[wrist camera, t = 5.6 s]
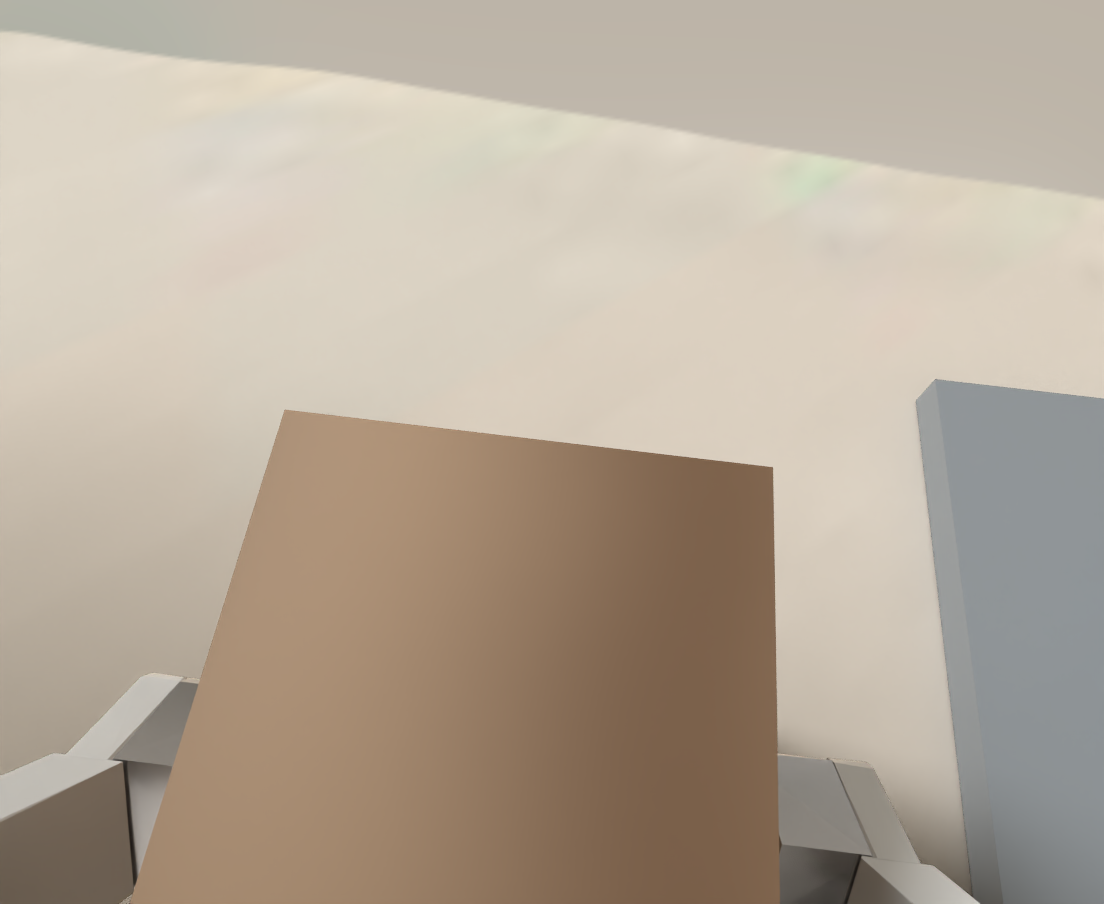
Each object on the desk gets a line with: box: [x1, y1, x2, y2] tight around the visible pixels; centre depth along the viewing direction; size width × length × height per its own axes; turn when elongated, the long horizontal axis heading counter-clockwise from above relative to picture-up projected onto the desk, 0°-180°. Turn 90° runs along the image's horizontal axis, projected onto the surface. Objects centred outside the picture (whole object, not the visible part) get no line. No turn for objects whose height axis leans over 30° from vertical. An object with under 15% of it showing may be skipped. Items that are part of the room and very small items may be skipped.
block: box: [130, 410, 780, 904], centre depth 10 cm, size 4×6×10 cm
